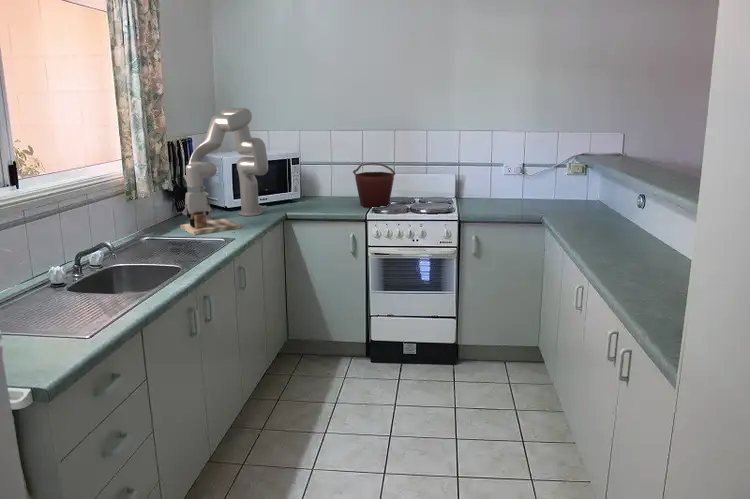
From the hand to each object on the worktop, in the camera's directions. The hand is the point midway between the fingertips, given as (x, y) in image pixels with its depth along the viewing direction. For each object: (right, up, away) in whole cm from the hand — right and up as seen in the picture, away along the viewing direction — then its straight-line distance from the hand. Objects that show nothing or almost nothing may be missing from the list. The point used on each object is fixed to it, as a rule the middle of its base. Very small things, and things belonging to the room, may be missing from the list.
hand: (198, 225), depth 309 cm
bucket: (+88, +14, +60) cm, 107 cm away
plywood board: (+5, -1, +4) cm, 7 cm away
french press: (-5, +4, +25) cm, 26 cm away
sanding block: (0, -1, 0) cm, 1 cm away
